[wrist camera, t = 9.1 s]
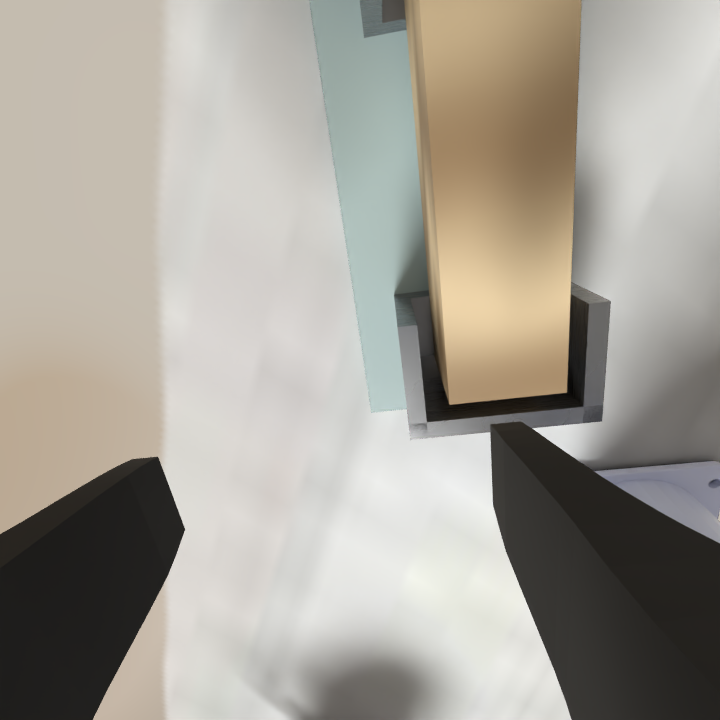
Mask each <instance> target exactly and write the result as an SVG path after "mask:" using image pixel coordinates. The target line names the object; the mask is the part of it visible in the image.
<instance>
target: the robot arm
mask: <svg viewBox="0 0 720 720" xmlns="http://www.w3.org/2000/svg"><path fill="white" fill-rule="evenodd" d="M490 432H491V459H492V487H493V506H494V510H495V514H496V517H497V521H498V525H499V528H500V532H501V535H502V539H503V542H504V546H505V549H506V552H507V555H508V557H509V560H510V562H511V565H512V567H513V570H514V572H515V575H516V577H517V580H518V582H519V585H520V587H521V590H522V592H523V595H524V597H525V600H526V602H527V604H528V607H529V609H530V612H531V614H532V617H533V619H534V622H535V624H536V626H537V629H538V631H539V634H540V636H541V639H542V641H543V644H544V646H545V648H546V651H547V653H548V656H549V658H550V661H551V663H552V666H553V668H554V670H555V673H556V676H557V679H558V681H559V684H560V687H561V690H562V692H563V695H564V698H565V700H566V703H567V706H568V710H569V713H570V716H571V719H572V720H720V521H719V520H718V516H719V511H720V463H719V462H717V461H708V462H696V463H685V464H673V465H661V466H649V467H638V468H626V469H614V470H602V471H593V470H591V469H590V468H588V467H587V466H585V465H584V464H582V463H581V462H579V461H578V460H576V459H575V458H573V457H572V456H570V455H569V454H567V453H566V452H564V451H563V450H562V449H560V448H559V447H557V446H556V445H554V444H553V443H552V442H550V441H549V440H547V439H546V438H545V437H543V436H542V435H540V434H539V433H538V432H536V431H535V430H533V429H532V428H530V427H529V426H527V425H526V424H524V423H523V422H521V421H519V422H509V423H498V424H490ZM711 480H713V481H712V482H710V481H711ZM709 482H710V483H709ZM184 531H185V528H184V525H183V523H182V520H181V517H180V515H179V512H178V509H177V507H176V504H175V501H174V498H173V496H172V493H171V490H170V488H169V485H168V482H167V480H166V477H165V474H164V472H163V469H162V466H161V464H160V461H159V458H158V457H150V458H140V459H132V460H130V461H128V462H125V463H123V464H121V465H119V466H117V467H115V468H113V469H111V470H109V471H108V472H106V473H104V474H102V475H100V476H99V477H97V478H95V479H93V480H92V481H90V482H88V483H87V484H85V485H83V486H81V487H80V488H78V489H76V490H75V491H73V492H71V493H70V494H68V495H66V496H64V497H63V498H61V499H59V500H58V501H56V502H54V503H53V504H51V505H50V506H48V507H46V508H44V509H43V510H41V511H40V512H38V513H36V514H34V515H33V516H31V517H29V518H28V519H26V520H25V521H23V522H21V523H19V524H17V525H16V526H14V527H12V528H10V529H9V530H7V531H5V532H3V533H2V534H0V720H93V718H94V716H95V713H96V712H97V710H98V708H99V705H100V703H101V701H102V699H103V697H104V695H105V693H106V691H107V689H108V687H109V686H110V684H111V682H112V680H113V678H114V676H115V674H116V672H117V671H118V669H119V667H120V665H121V663H122V661H123V659H124V657H125V656H126V654H127V652H128V650H129V648H130V646H131V644H132V643H133V641H134V639H135V637H136V635H137V633H138V631H139V629H140V628H141V626H142V624H143V622H144V620H145V618H146V616H147V615H148V613H149V611H150V609H151V607H152V605H153V603H154V601H155V599H156V597H157V595H158V593H159V591H160V590H161V588H162V586H163V584H164V582H165V580H166V578H167V576H168V574H169V571H170V569H171V566H172V564H173V561H174V559H175V556H176V554H177V551H178V548H179V545H180V542H181V539H182V537H183V534H184Z"/></svg>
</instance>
